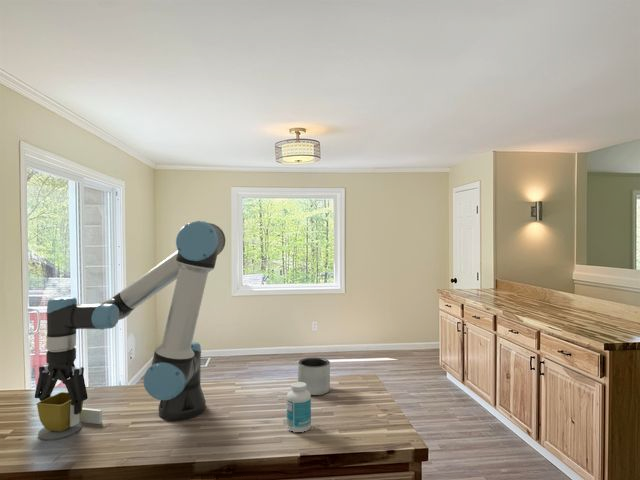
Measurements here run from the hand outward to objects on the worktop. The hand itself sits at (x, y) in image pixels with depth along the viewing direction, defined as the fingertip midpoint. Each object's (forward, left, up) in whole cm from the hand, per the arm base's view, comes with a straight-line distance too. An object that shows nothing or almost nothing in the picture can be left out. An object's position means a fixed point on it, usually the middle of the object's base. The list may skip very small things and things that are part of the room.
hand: (60, 422), depth 118 cm
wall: (-1, -7, -3) cm, 8 cm away
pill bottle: (-70, -17, -3) cm, 72 cm away
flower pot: (0, 0, -2) cm, 2 cm away
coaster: (0, 0, -3) cm, 3 cm away
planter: (-68, -48, -3) cm, 83 cm away
